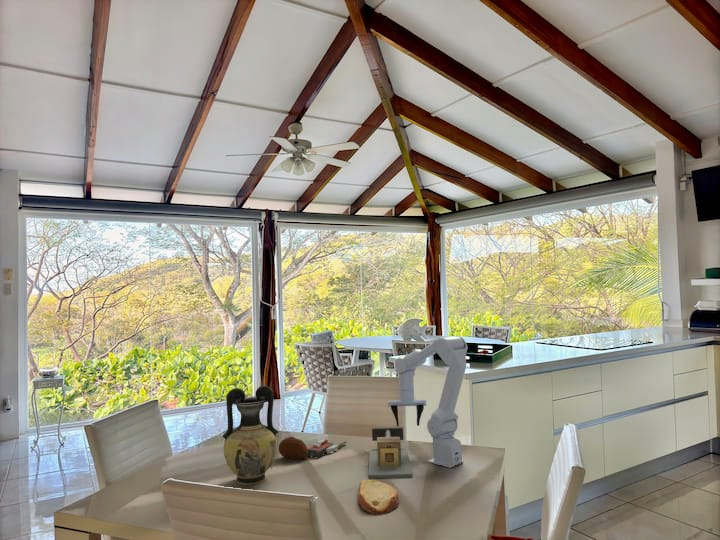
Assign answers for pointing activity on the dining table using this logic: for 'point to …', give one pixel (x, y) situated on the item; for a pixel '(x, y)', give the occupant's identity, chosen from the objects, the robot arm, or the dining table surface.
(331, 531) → the dining table surface
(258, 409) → the amphora
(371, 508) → the slice of bread
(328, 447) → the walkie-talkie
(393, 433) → the grey and silver t-piece
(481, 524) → the dining table surface
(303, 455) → the potato
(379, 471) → the mat
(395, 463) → the collar
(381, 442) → the bearing block
